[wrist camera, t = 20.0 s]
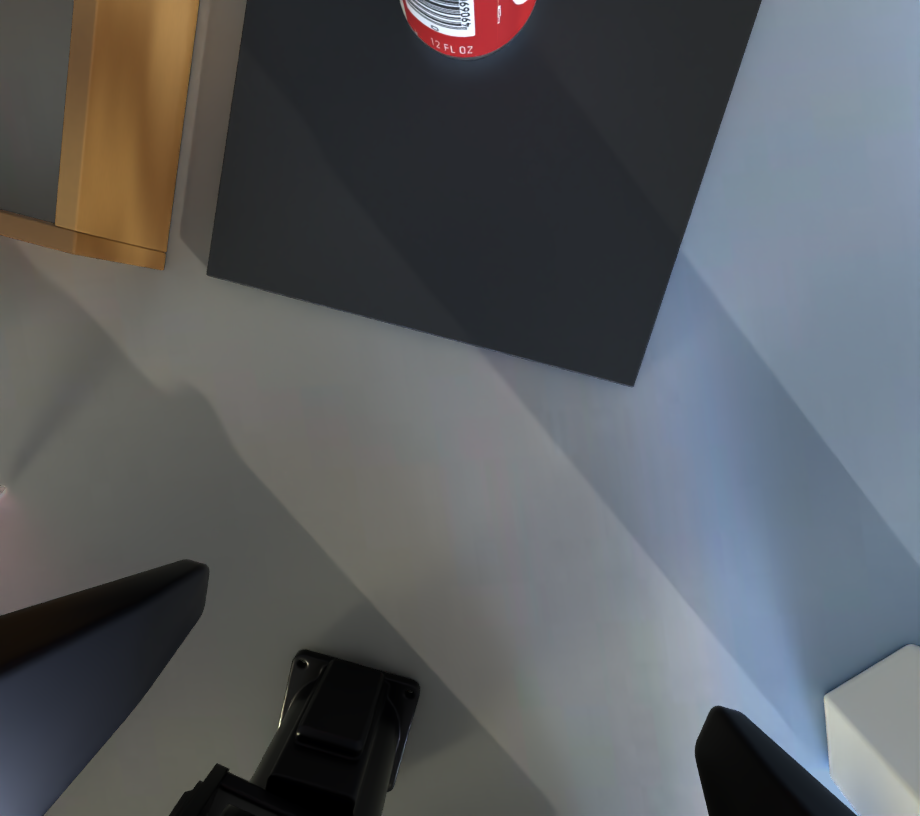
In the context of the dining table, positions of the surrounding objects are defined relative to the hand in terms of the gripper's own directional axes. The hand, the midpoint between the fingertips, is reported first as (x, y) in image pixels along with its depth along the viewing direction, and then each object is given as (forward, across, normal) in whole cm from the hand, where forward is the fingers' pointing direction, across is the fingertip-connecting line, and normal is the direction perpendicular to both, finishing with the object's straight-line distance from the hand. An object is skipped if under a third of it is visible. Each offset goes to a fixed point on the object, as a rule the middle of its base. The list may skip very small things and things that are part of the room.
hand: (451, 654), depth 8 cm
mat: (+14, +4, -14) cm, 20 cm away
